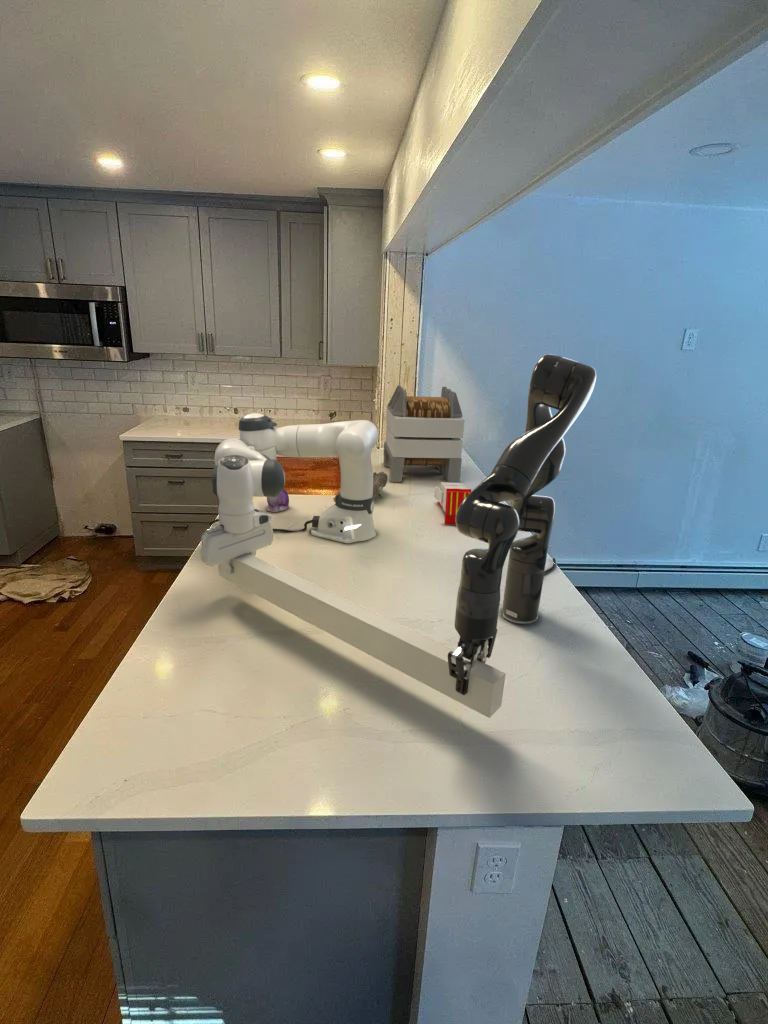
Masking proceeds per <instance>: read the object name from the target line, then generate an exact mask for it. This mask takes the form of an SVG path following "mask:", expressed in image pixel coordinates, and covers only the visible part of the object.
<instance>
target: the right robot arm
mask: <svg viewBox="0 0 768 1024" xmlns="http://www.w3.org/2000/svg"><path fill="white" fill-rule="evenodd" d="M596 381H597V371H596V369H595V368H594V367H593V366H590V365H588V364H586V363H583V362H580V361H577V360H573V359H570V358H567V357H563V356H560V355H557V354H553V353H547V354H544V355H542V356H541V357H540V358H539V359H538V360H537V362H536V363H535V365H534V366H533V369H532V373H531V376H530V379H529V385H528V394H527V407H526V419H525V427H524V433H522V434H521V435H519V436H517V437H516V438H515V439H513V440H512V441H511V442H510V443H508V445H507V446H506V448H505V449H504V450H503V452H502V454H500V457H499V459H498V460H497V462H496V463H495V465H494V467H493V468H492V471H491V472H490V473H489V475H487V476H486V477H485V478H484V479H483V480H482V481H481V482H480V483H479V484H478V485H477V486H476V487H475V488H474V489H472V490H471V493H470V494H469V495H468V496H467V497H466V498H465V499H464V500H463V501H462V503H461V504H460V506H459V508H458V510H457V513H456V525H455V526H456V529H457V531H458V532H459V533H460V534H461V535H463V536H466V537H468V538H471V539H474V540H476V541H480V542H483V543H486V544H488V548H471V549H469V550H467V551H466V552H465V553H464V554H463V556H462V560H461V569H460V580H459V586H458V590H457V596H456V597H457V598H456V606H455V616H454V629H455V630H456V632H457V635H459V639H458V642H457V649H455V650H456V651H455V652H452V651H450V652H449V653H448V664H449V674H450V676H452V677H454V678H456V688H455V689H456V691H457V692H458V693H460V694H462V695H466V694H467V692H468V683H469V675H470V672H471V668H473V667H474V666H475V663H476V660H479V661H481V662H483V663H485V664H487V659H490V658H491V656H492V653H493V649H494V645H495V643H496V642H495V641H496V639H497V633H498V628H497V627H498V621H499V613H500V615H501V617H503V618H504V619H505V620H506V621H507V622H510V623H512V624H516V625H523V626H524V625H525V626H526V625H527V626H528V625H532V624H535V623H536V622H538V618H539V610H540V603H541V598H542V591H543V585H544V578H545V575H546V574H548V573H550V572H551V571H553V570H554V569H555V567H556V565H557V561H556V558H555V557H553V558H552V561H553V562H554V563H555V564H554V563H553V565H552V566H551V567H550V568H548V569H546V564H547V558H548V551H549V544H550V538H551V534H552V529H553V524H554V520H555V515H556V502H555V500H554V498H553V497H550V496H545V495H537V494H536V493H538V492H539V491H541V490H542V489H545V487H547V486H549V485H550V484H551V483H553V481H555V480H556V479H557V477H558V476H559V475H560V473H561V470H562V466H563V463H564V459H565V457H566V442H565V439H564V436H565V435H566V433H567V432H568V431H569V429H570V428H571V427H572V425H573V424H574V423H575V421H576V420H577V418H578V417H579V416H580V414H581V413H582V411H583V410H584V409H585V407H586V405H587V404H588V402H589V400H590V398H591V395H592V394H593V391H594V389H595V385H596ZM551 409H554V410H557V412H556V413H555V414H554V415H553V414H552V410H551ZM502 502H510V503H509V505H508V504H505V503H502ZM519 532H524V533H532V535H529V536H528V537H527V536H526V537H524V538H520V539H516V537H517V535H518V533H519ZM533 533H534V534H533ZM515 539H516V540H515ZM507 557H508V562H507V568H506V576H505V582H504V583H505V585H504V592H503V601H502V607H501V611H500V605H501V586H502V579H503V570H504V566H505V563H506V560H507ZM462 656H463V657H464V658H466V659H468V660H471V661H470V662H469V661H467V660H465V659H463V657H462ZM464 666H465V667H466V671H464Z"/></svg>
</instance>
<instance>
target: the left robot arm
mask: <svg viewBox="0 0 768 1024" xmlns="http://www.w3.org/2000/svg"><path fill="white" fill-rule="evenodd" d="M277 426H278V424H277V422H275V421H273V419H272V418H271V417H269V416H268V415H266V414H264V413H263V414H262V413H259V412H251V413H249V414H246V415H244V416H242V417H241V418H240V419H239V421H238V431H239V438H234V437H231V438H227V439H224V440H223V441H222V442H220V443H219V444H218V446H217V447H216V449H215V451H214V465H215V467H213V469H212V470H211V473H210V476H211V482H212V494H214V495H215V497H216V498H218V507H217V512H218V513H217V514H218V518H216V519H214V520H212V521H210V522H209V523H208V525H209V526H211V525H214V524H216V523H217V522H218V525H217V526H214V527H212V528H210V527H209V528H207V529H205V531H204V532H203V533H202V535H201V537H200V541H201V546H200V560H201V561H202V563H204V564H205V565H207V566H209V567H213V566H216V565H218V564H219V563H222V564H223V565H224V566H225V569H226V573H227V574H229V575H230V574H232V573H234V567H233V566H231V565H229V564H228V563H230V559H233V558H235V557H238V556H241V555H244V554H246V553H249V554H251V555H253V556H255V557H256V555H257V550H260V549H263V548H265V547H268V546H271V545H272V544H273V541H274V532H280V533H281V532H282V533H297V532H305V531H306V530H308V524H311V530H310V533H311V536H315V537H319V538H323V539H326V540H330V541H336V542H339V543H343V544H352V543H357V542H365V541H368V540H372V539H373V538H375V537H376V535H377V532H376V528H375V523H374V513H373V512H374V509H375V497H374V496H373V473H374V471H373V464H372V451H373V449H374V448H375V447H376V445H377V443H378V441H379V431H378V428H377V426H376V425H375V423H373V422H372V421H371V420H367V419H356V420H345V421H335V422H328V423H309V424H308V423H306V424H303V423H302V424H291V425H285V426H281V427H277ZM277 455H278V456H280V457H282V456H283V457H286V458H287V457H288V458H327V457H328V458H329V457H331V456H337V458H338V464H339V471H340V490H339V491H338V492H337V494H336V495H335V496H334V497H333V502H334V504H333V505H331V506H329V507H328V508H326V509H325V510H323V512H321V514H320V515H313V517H312V519H310V520H307V521H305V522H304V523H303V527H304V528H302V529H299V530H290V529H284V528H274V527H273V524H272V522H271V521H272V515H271V514H270V513H268V512H266V511H265V510H261V509H259V508H255V505H254V501H253V499H254V498H259V497H260V498H261V497H262V498H263V497H265V498H267V497H276V496H277V495H278V494H280V493H281V492H282V490H283V489H284V490H285V485H286V473H285V470H284V467H283V464H281V463H280V461H278V460H277Z"/></svg>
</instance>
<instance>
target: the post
mask: <svg viewBox="0 0 768 1024" xmlns="http://www.w3.org/2000/svg"><path fill="white" fill-rule="evenodd" d="M228 564H229V565H231V566H233V567H234V573H232V574H230V575H229V574H227V573H226V569H225V566H224V565H223V564H222V563H219V564H217V565H218V576H219V577H221V578H222V579H225V580H227V581H229V582H231V583H232V584H234V585H236V586H238V587H239V588H242V589H243V590H245V591H248V592H250V593H251V594H253V595H255V596H257V597H259V598H261V599H262V600H265V601H267V602H268V603H270V604H272V605H274V606H276V607H278V608H280V609H282V610H284V611H285V612H288V613H289V614H291V615H293V616H295V617H297V618H299V619H300V620H303V621H305V622H306V623H308V624H310V625H312V626H314V627H316V628H317V629H319V630H321V631H324V632H325V633H327V634H329V635H331V636H333V637H335V638H336V639H339V640H340V641H343V643H346V644H348V645H350V646H352V647H354V648H356V649H357V650H359V651H361V652H363V653H365V654H367V655H369V656H371V657H373V658H374V659H376V660H378V661H380V662H381V663H384V664H385V665H388V666H390V667H391V668H393V669H396V670H397V671H399V672H400V673H402V674H405V675H406V676H409V677H411V678H412V679H414V680H415V681H418V682H420V683H422V684H423V685H425V686H428V687H429V688H431V689H434V690H435V691H437V692H439V693H441V694H443V695H444V696H446V697H448V698H450V699H452V700H454V701H456V702H458V703H459V704H462V705H464V706H466V707H468V708H469V709H471V710H473V711H475V712H477V713H478V714H481V715H482V716H485V717H487V718H488V719H490V718H491V717H492V716H493V715H494V714H495V713H497V711H498V710H499V709H500V708H501V707H502V703H503V696H504V688H505V681H506V672H504V671H503V670H500V669H498V668H496V667H494V666H491V665H489V664H487V663H483V662H481V661H479V660H476V663H475V666H474V667H473V668H471V672H470V675H469V683H468V692H467V694H466V695H462V694H460V693H458V692H457V691H456V689H455V688H456V678H454V677H452V676H450V674H449V664H448V653H449V652H450V651H452V652H455V651H456V650H457V649H455V648H453V647H451V646H449V645H446V644H445V643H442V642H441V641H438V640H435V639H433V638H431V637H429V636H427V635H425V634H424V633H421V632H418V631H416V630H414V629H412V628H410V627H408V626H406V625H403V624H401V623H400V622H397V621H395V620H393V619H391V618H389V617H386V616H384V615H382V614H380V613H377V612H375V611H374V610H372V609H370V608H367V607H365V606H363V605H360V604H358V603H357V602H354V601H352V600H349V599H348V598H346V597H343V596H342V595H339V594H337V593H334V592H333V591H330V590H328V589H326V588H324V587H322V586H320V585H317V584H315V583H313V582H311V581H309V580H307V579H304V578H302V577H300V576H298V575H295V574H294V573H291V572H289V571H287V570H285V569H283V568H281V567H279V566H276V565H274V564H273V563H271V562H268V561H266V560H264V559H262V558H259V557H258V556H256V555H255V556H253V555H251V554H249V553H246V554H244V555H241V556H238V557H235V558H233V559H230V563H228ZM462 657H463V656H462ZM463 659H465V660H467V661H469V662H470V661H471V660H468V659H466V658H464V657H463ZM464 671H466V667H465V666H464Z"/></svg>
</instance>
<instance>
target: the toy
mask: <svg viewBox="0 0 768 1024" xmlns="http://www.w3.org/2000/svg"><path fill="white" fill-rule="evenodd" d="M471 492H472V488H467V487H466V485H464V483H462V482H459V483H448V482H447V481H446V482H445V481H444V482H443V481H441V482H439V487H438V486H437V485H436V486H435V487H434V498H435V499H436V500H437V501H436V502H437V504H438V506H439V507H440V508H442V510H443V512H444V525H452V526H453V525H455V526H456V513H457V510H458V508H459V506H460V504H461V503H462V501H463V500H464V499H465V498H466V497H467V496H468V495H469V494H470V493H471Z"/></svg>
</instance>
